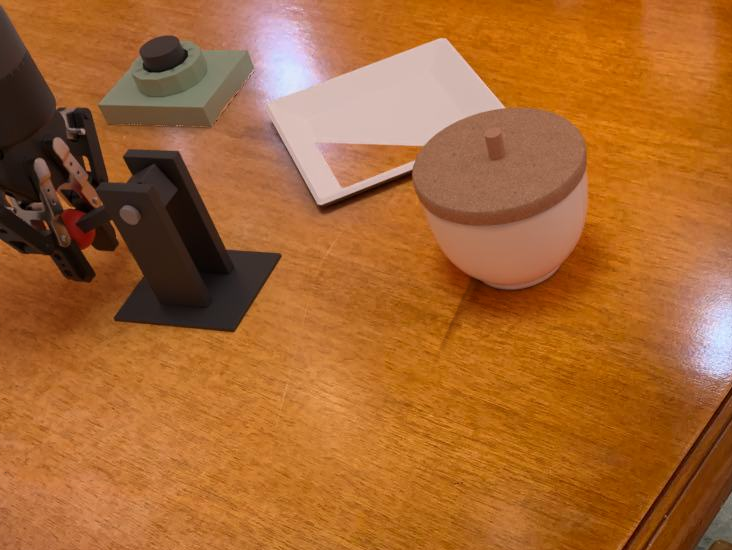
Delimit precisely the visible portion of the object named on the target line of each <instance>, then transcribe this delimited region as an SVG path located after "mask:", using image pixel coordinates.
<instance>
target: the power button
mask: <svg viewBox="0 0 732 550" xmlns="http://www.w3.org/2000/svg"><path fill="white" fill-rule="evenodd" d="M180 41H181V40H180V39H179V37H177V36H175V35H172V34H171V35H169V34H167V35H159V36H157V37H154V38H151V39H149V40H147V41H146V42H145V43H143V44H142V45H141V46H140V47H139V52H138V53H139V55H140V56H141V58H142V60H143V62H144V64H145V66H146V68H147V71H148V72H149V73H161V72H164V71H168V70H172V69H173V68H175V67H177V66H179V65H180V64H182V63H183V62H184V61H185V60H186V59H187V57H186V54H185V52H184V50H183V48H182V45H181V43H180Z"/></svg>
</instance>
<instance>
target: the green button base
mask: <svg viewBox="0 0 732 550" xmlns="http://www.w3.org/2000/svg"><path fill="white" fill-rule="evenodd" d="M179 41H180V43H181V45H182V48H183V50H184V52H185V54H186V57H187V59H186V60H185V61H184V62H183V63H182V64H180V65H179V66H177V67H175V68H173V69H172V70H168V71H164V72H161V73H149V72H148V71H147V68H146V66H145V64H144V62H143V60H142V58H141V56H140V54H139V55H138V56H137V57H136V59H134V61H133V62H131V65H130V67H129V68H128V69H127V71H126V72H125V73H124V74H123V75H122V76H121V77H120V78H119V79H118V81H117V82H116V83H115V84H114V86H113V87H112V88H111V89H110V90H109V91H108V92H107V93H106V94H105V96H104V97H103V98H102V99H101V100H100V102H98V104H97V107H98V108H99V110H100V112H101V115H102V116H103V118H104V119H105V122H106V123H107V125H108V124H126V125H125V126H128V125H127V124H130V125H129V126H138V125H140V124H141V125H163V126H162V127H171V126H176V125H178V126H179V125H181V126H182V125H183V126H204V127H205V126H206V127H207V126H208V127H212V125H213V124H214V123H215V121H216V119H217V118H218V117H219V115H220V113H221V111H222V110H223V108H224V107H225V106H226V104H227V103H228V102H229V101H230V99H231V98H232V97H233V96H234V95H235V94H236V92H237V91H238V90H239V89H240V88H241V86H242V84H243V83H244V82H245V80H246V79H247V78H248V76H249V74H250V73H251V72H252V70H253V69H255V65H254V63H253V61H252V58H251V56H250V53H249V51H248V49H201V47H200V46H199V45H197V44H196V43H194V42H192V41H190V40H179ZM132 124H133V125H132ZM134 124H135V125H134ZM137 124H138V125H137ZM215 124H216V123H215ZM215 124H214V125H215ZM164 125H165V126H164ZM166 125H167V126H166ZM204 127H203V128H204ZM212 128H213V127H212Z"/></svg>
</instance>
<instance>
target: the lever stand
mask: <svg viewBox="0 0 732 550" xmlns="http://www.w3.org/2000/svg"><path fill="white" fill-rule="evenodd" d="M122 159H123V161H124V162H125V165H126V167H127V168H128V170H129V172H130V174H131V176H132V175H134V174H136V173H138V172H140V171H141V170H143V169H145V168H147V167H149V166H151V165H153V164H155V165H156V166H157V167H158V168H159V169H160V170H161V171H162V172H163V173H164V175H165V176H166V177H167V178H168V179H169V180H170V181H171V182H172V183H173V184H174V185H175V187H176V188H177V189H178V191H177V192H176V193H175V195H174V196H173V197H172V199H171V200H170V201H169V203H168V204H167V205H166V207H164V205H163V203H162V201H161V199H160V197H159V195H158V193H157V191H156V189H155V187H154V186H153V184H133V183H127V182H111V181H110V182H101V183H100V185H99V186H98V187H97V188H96V189H95V191H96V193H97V195H98V196H99V198H100V200H101V204H102V205H104V207H105V209H106V210H107V212H108V214H109V216H110V217H111V219H112V220H111V222H112V223H113V224H114V227H116V229H117V231H118V233H119V235H120V236H121V238H122V239H123V242H124V244H125V245H126V247H127V248H128V249H127V250H128V251H129V252H130V254H131V256H132V257H133V259H134V261H135V263H136V264H137V266H138V268H139V270H140V271H141V274H142V275H143V276H142V278H141V279H140V280H139V281H138V283H137V284H136V286H135V287H134V289H133V290H132V291H131V292H130V294H129V296H128V297H127V298H126V300H125V301H124V302H123V304H122V305H121V307H120V308H119V309H118V311H117V312H116V313H115V315H114V316H113V320H114V321H115V322H123V323H134V324H143V325H153V326H154V325H155V326H163V327H164V326H165V327H175V328H185V329H187V328H188V329H196V330H208V331H217V332H218V331H219V332H228V333H235V332H236V330H238V327H240V324H241V322H242V321H243V319H244V318H245V316H246V315H247V313H248V311H249V310H250V308H251V306H252V305H253V303H254V301H255V300H256V298H257V297H258V295H259V294H260V292H261V291H262V289H263V287H264V286H265V284H266V282H267V281H268V280H269V278H270V276H271V275H272V273H273V271H274V270H275V268H276V266H277V265H278V263H279V262H280V260H281V259H282V253H281V252H271V251H269V252H268V251H266V252H265V251H253V250H252V251H251V250H238V249H227V248H226V246H225V244H224V241H223V240H222V238H221V236H220V234H219V232H218V230H217V227H216V225H215V223H214V221H213V219H212V217H211V215H210V213H209V211H208V209H207V207H206V204H205V202H204V200H203V198H202V196H201V193H200V192H199V190H198V188H197V186H196V184H195V181H194V180H193V177H192V175H191V173H190V171H189V168H188V166H187V165H186V162H185V160H184V159H183V156H182V154H181V153H180V151H179V150H168V149H167V150H165V149H164V150H163V149H162V150H161V149H139V148H136V149H135V148H129V149H127V151H125V153H124V154H123V155H122Z"/></svg>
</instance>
